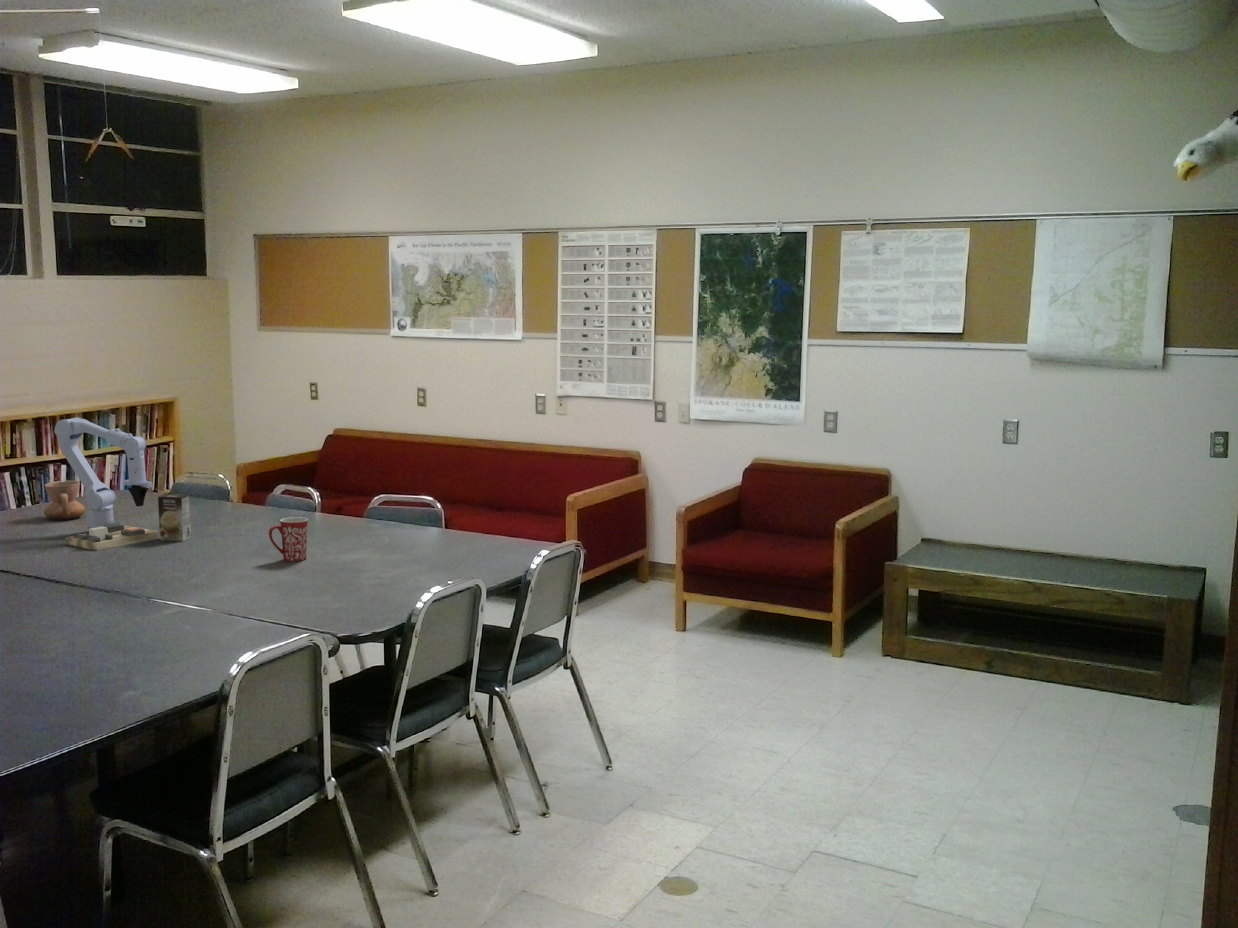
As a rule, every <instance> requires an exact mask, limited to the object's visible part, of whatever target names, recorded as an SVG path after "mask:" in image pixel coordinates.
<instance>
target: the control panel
mask: <svg viewBox="0 0 1238 928" xmlns="http://www.w3.org/2000/svg"><path fill="white" fill-rule="evenodd" d="M102 527H105V526H102ZM133 527H135V528H138V527H137V526H131V525H121V524H120V526H117V527H112V528H109V527H107V530H108V534H105V539H103V540H100V538H99V537H94V536H91V535H89V531H87V530H85V531H86V532H85V533H78V532H77V533H76V532H74V533H73V535H72V536H71V535H70V536H67V537H65V545H68V546H72V545H73V547H77V546H78V548H83V549H87V550H94V551H102V550H106V549H111V548H116V547H121V546H125V545H126V546H127V545H130V544H135V543H136V544H137V543H140V542H145V541H150V540H155V539H159V531H158V530H154V529H147V528H143V527H139V528H140V530H138V531H133V532H129V531H125V529H128V528H133Z"/></svg>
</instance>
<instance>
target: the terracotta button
mask: <svg viewBox="0 0 1238 928" xmlns="http://www.w3.org/2000/svg"><path fill="white" fill-rule="evenodd" d="M132 527H133V528H128V529H125V531H129V532H133V531H138V530H140V528H141V527H137V528H135V527H136V526H132Z"/></svg>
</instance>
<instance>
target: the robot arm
mask: <svg viewBox="0 0 1238 928" xmlns="http://www.w3.org/2000/svg"><path fill="white" fill-rule="evenodd" d="M54 426H55V427H54V430H53V433H54V434H55V435H56V437H57V444H58V447H59V450H60V451H61V453H62V455H63V456H64V457H65V458H66V461H67V462H68V465H70V467H71V468H72V469H73V472H74V473H75V474H76V476H77V478H78V479H79V480H80V481H79V482H81V484H82V486H83V487H84V489H85V490H84V493H83V495H84V498H85V500H86V505H87V507H89V510H87V512H86V517H85V518H86V530H85V533H86V531H89V529H91V528H96V527H102V526H105V525H104V523H105V522H110V521H115V519H114V504H115V503H116V501H117V495H116V493H115V491H113V490H112V489H110V487H108V485H107V484H106V483H104V482H102V481H101V480H100V479H99V478H98V476H97V474H96V473H95V471H94V470H93V468H92V467H91V466H90V464H89V462H88V461H87V460H88V459H86V457H85V456H84V454H83V452H82V451H81V449H80V448H79V446H78V442H79V440H80V439H81V438H82V435H83V434H84V433H86V434H90V435H93V436H96V437H99V438H102V439H105V441H106V443H107V444H109V445H112V446H115V447H118V448H120V449H122V450H123V451H124V452H125V453H126V459H127V470H128V471H127V472H128V479H124V480H122V482H123V486H129V487H128V488H127V491H128V492H129V493H130V495H131V496H132V498H133V501H134V505H135V507H143V506H144V503H145V498H146V496H147V492H148V490H149V489H151V488H154V486H153V481H148V480H147V477H146V476H147V475H146V463H145V451H144V450H146V448H147V441H146V439H145V438H144V437H142V435H135V436H133V434H132V433H131V432H129V433H127V432H125V431H122V430H121V429H120V428H112V429H107V428H106V427H105V428H104V427H103V426H100V425H98V424H96V423H93V422H91V421H89V420H88V419H85V418H82V417H80V416H79V417H78V416H77V417H72V418H67V419H60V420H58V421H57V422H56V423H55V425H54Z"/></svg>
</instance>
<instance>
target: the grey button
mask: <svg viewBox="0 0 1238 928" xmlns="http://www.w3.org/2000/svg"><path fill="white" fill-rule="evenodd" d="M120 522H121V521H116V520H114V521H110V522H105V523H104V525H105V527H109V528H112V527H117V526H120V525H121V523H120Z"/></svg>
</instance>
